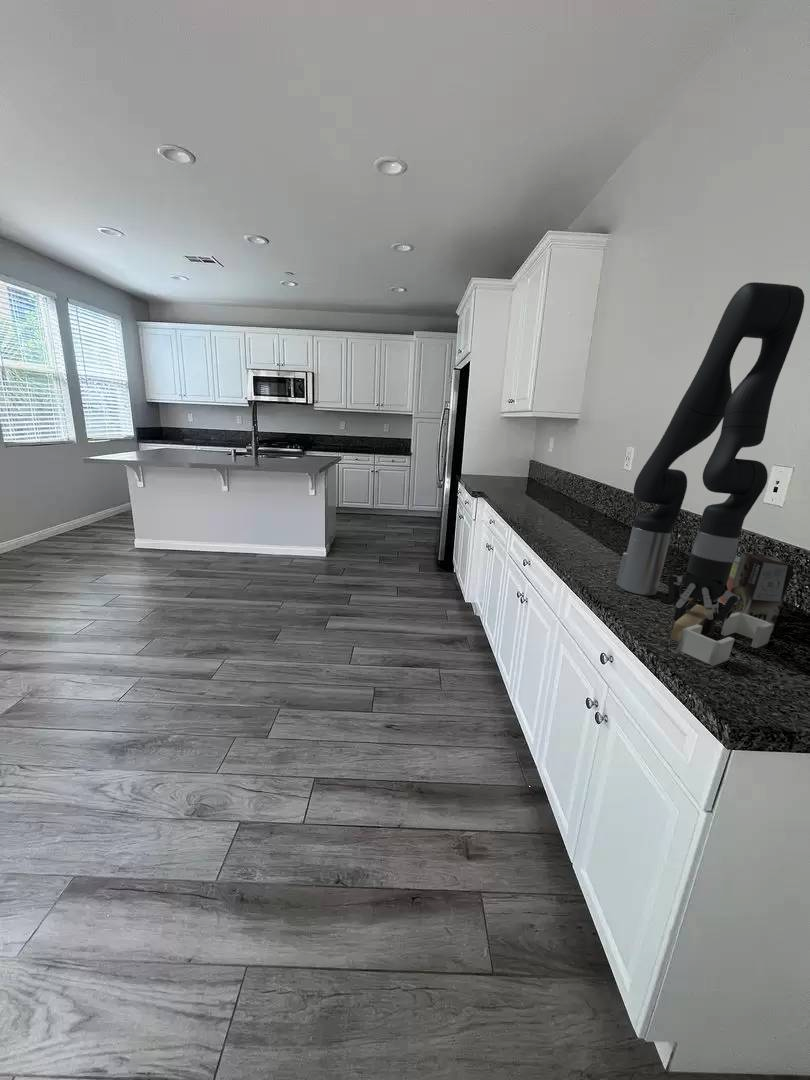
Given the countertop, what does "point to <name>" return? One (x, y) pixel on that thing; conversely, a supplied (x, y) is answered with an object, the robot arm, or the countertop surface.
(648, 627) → the countertop surface
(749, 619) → the end cap
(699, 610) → the oak bar
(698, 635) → the end cap
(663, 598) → the countertop surface
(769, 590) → the coffee box
